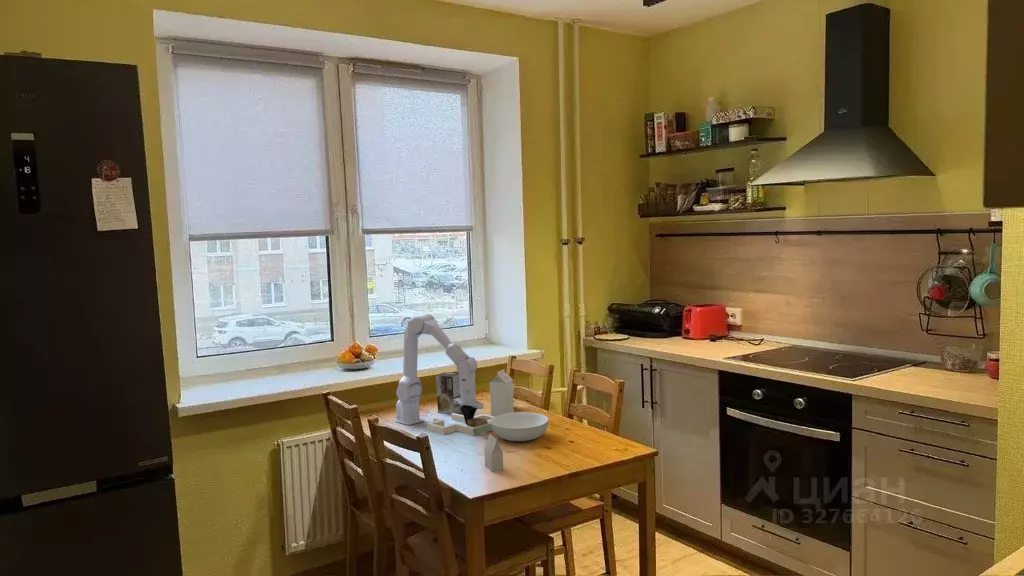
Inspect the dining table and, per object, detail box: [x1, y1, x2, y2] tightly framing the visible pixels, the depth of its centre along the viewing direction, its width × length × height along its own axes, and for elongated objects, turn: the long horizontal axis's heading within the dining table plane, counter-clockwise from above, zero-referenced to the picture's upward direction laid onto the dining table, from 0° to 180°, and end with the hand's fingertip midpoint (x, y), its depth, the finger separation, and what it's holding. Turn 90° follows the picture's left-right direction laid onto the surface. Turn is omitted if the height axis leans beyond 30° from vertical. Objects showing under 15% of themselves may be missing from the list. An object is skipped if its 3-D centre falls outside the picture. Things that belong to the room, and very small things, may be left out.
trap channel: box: [426, 413, 494, 437], centre depth 273 cm, size 24×23×3 cm
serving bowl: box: [491, 411, 550, 443], centre depth 256 cm, size 21×21×7 cm
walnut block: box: [467, 418, 487, 427], centre depth 268 cm, size 6×4×4 cm
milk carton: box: [489, 369, 515, 417], centre depth 285 cm, size 7×7×19 cm
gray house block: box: [483, 434, 504, 473], centre depth 224 cm, size 4×7×10 cm, turn 22°
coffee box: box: [435, 372, 462, 415], centre depth 296 cm, size 9×6×16 cm
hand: (469, 424), depth 271 cm, fingers closed
